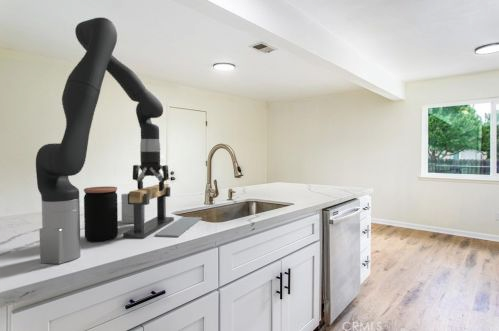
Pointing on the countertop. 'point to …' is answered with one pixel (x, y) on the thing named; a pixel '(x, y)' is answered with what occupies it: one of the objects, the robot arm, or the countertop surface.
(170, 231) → the mat
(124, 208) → the supplement box
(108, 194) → the coffee jar
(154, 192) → the rail
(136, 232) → the rack
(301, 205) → the countertop surface
